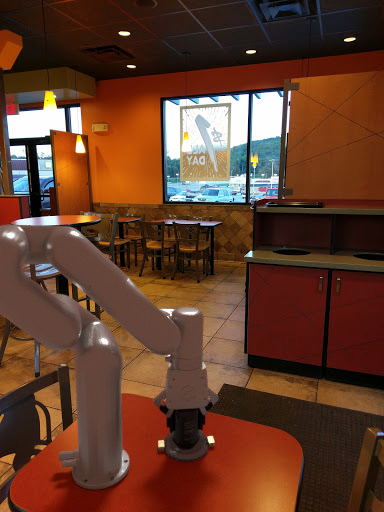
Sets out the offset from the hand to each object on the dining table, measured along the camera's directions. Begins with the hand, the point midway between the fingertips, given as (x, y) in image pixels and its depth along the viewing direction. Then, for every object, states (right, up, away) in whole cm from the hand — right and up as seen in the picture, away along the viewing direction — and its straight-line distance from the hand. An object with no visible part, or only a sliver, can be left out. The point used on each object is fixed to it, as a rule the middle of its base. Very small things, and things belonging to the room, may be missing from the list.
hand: (185, 427), depth 88 cm
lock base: (0, -5, +1) cm, 5 cm away
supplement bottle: (0, -3, +1) cm, 3 cm away
